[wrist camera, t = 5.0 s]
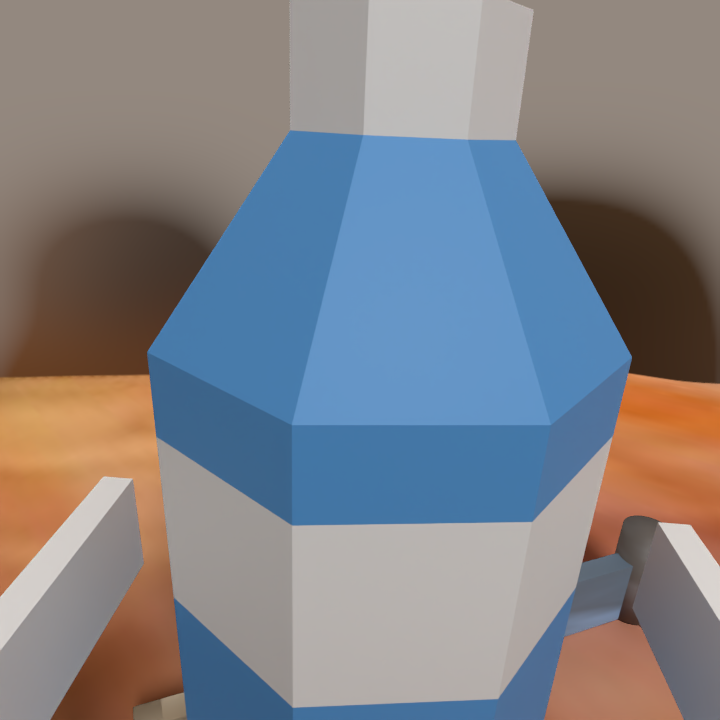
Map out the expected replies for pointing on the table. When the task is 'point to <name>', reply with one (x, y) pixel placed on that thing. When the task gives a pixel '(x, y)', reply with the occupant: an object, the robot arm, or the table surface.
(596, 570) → the frame
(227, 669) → the water bottle
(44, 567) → the robot arm
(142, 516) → the table surface
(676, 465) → the table surface
